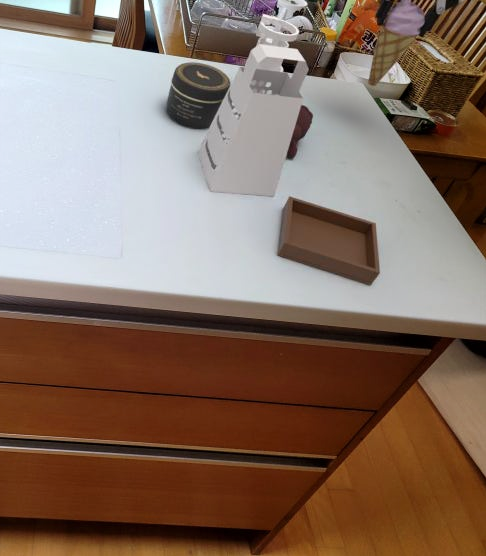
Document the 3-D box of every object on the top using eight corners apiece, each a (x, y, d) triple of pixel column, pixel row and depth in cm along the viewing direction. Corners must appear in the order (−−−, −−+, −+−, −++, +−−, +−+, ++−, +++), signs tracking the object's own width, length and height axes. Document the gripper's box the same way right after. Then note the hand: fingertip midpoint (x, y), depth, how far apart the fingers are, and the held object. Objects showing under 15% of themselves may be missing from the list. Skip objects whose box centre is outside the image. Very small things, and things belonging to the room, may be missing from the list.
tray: (367, 235, 83) (375, 223, 81) (370, 285, 75) (380, 273, 73) (282, 208, 84) (289, 196, 82) (277, 255, 76) (284, 242, 74)
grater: (197, 151, 91) (236, 30, 76) (256, 157, 93) (305, 40, 78) (210, 191, 84) (256, 66, 69) (274, 196, 86) (331, 76, 71)
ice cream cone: (346, 75, 102) (386, -11, 91) (371, 73, 104) (412, -10, 94) (370, 93, 98) (415, 5, 87) (395, 90, 100) (442, 5, 90)
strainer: (237, 84, 110) (264, 7, 99) (271, 94, 110) (302, 18, 99) (233, 100, 105) (261, 21, 95) (269, 110, 105) (301, 32, 94)
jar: (210, 137, 95) (224, 96, 89) (156, 118, 96) (166, 77, 90) (223, 112, 101) (237, 73, 96) (173, 94, 103) (183, 55, 97)
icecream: (270, 80, 99) (272, 129, 90) (313, 80, 98) (319, 129, 88) (266, 114, 104) (267, 163, 95) (306, 114, 103) (312, 164, 94)
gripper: (515, -84, 83) (446, 34, 96) (402, -111, 85) (349, 8, 98) (527, -73, 78) (453, 50, 91) (406, -103, 80) (350, 22, 92)
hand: (399, 27), depth 94 cm, fingers closed on ice cream cone, 6 cm apart
